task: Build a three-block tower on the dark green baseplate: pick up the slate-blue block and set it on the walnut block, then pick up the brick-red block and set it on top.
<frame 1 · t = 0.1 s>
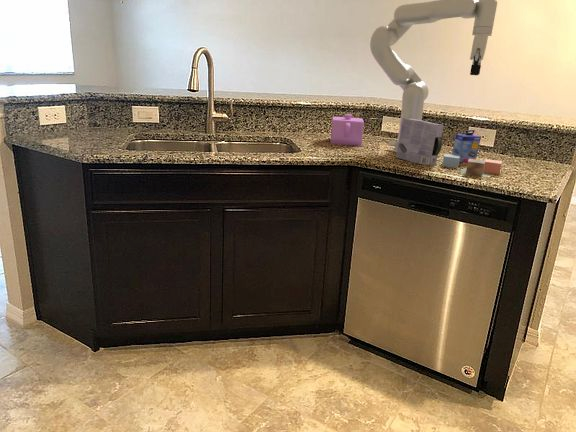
hand: (474, 74, 200), 37 cm above the worktop, tool pointing down, fingers open, 9 cm apart
ink cartridge box: (463, 163, 206), on the worktop
cake pan box: (416, 162, 202), on the worktop
block blue: (450, 167, 196), on the worktop
teapot: (345, 142, 239), on the worktop
block walnut: (474, 173, 184), point 1 cm above the worktop, touching baseplate
baseplate: (474, 175, 185), on the worktop
block red: (491, 173, 190), on the worktop
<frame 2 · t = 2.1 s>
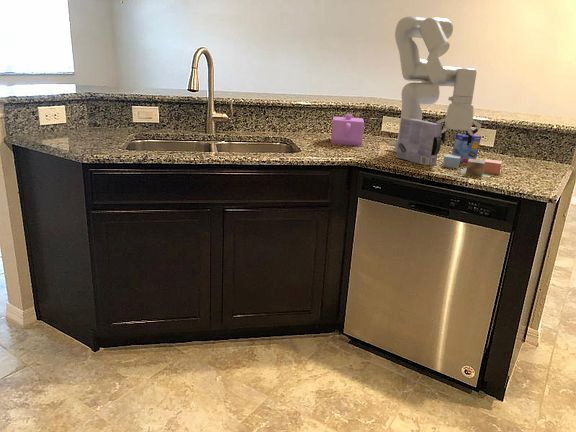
hand: (455, 143, 192), 10 cm above the worktop, tool pointing down, fingers open, 9 cm apart
cake pan box: (416, 162, 202), on the worktop, touching gripper
everything else where it was.
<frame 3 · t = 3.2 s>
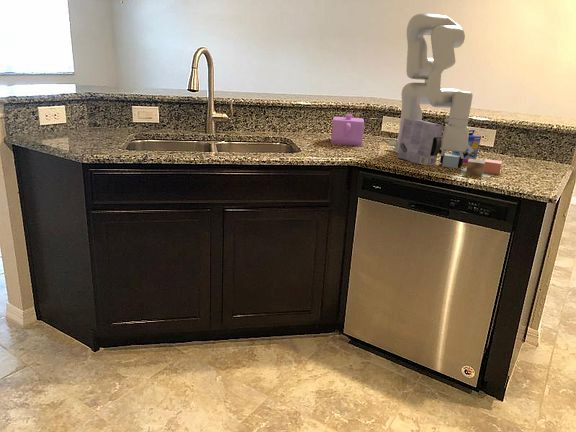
hand: (450, 165, 195), 1 cm above the worktop, tool pointing down, fingers closed on block blue, 6 cm apart
cake pan box: (416, 162, 202), on the worktop
block blue: (450, 167, 195), on the worktop, touching gripper
everything else where it was.
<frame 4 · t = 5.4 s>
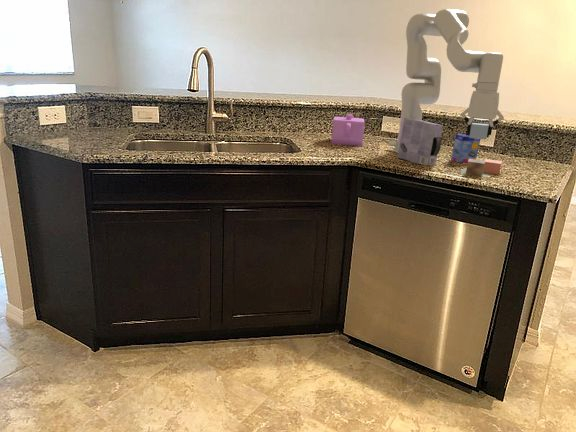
hand: (478, 135, 180), 15 cm above the worktop, tool pointing down, fingers closed on block blue, 6 cm apart
block blue: (478, 137, 180), point 15 cm above the worktop, touching gripper
everything else where it was.
when the fingers open (8 cm above the worktop, at t = 7.3 s): block blue drops 1 cm, resting on block walnut.
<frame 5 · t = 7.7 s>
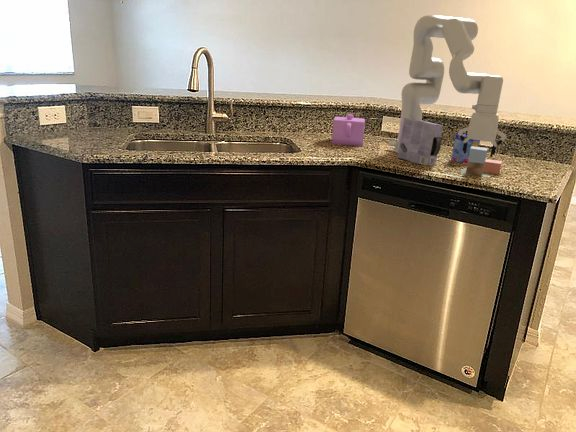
hand: (477, 154, 181), 8 cm above the worktop, tool pointing down, fingers open, 9 cm apart
block blue: (476, 161, 182), point 6 cm above the worktop, touching block walnut
block walnut: (474, 173, 184), point 1 cm above the worktop, touching baseplate, block blue
everything else where it was.
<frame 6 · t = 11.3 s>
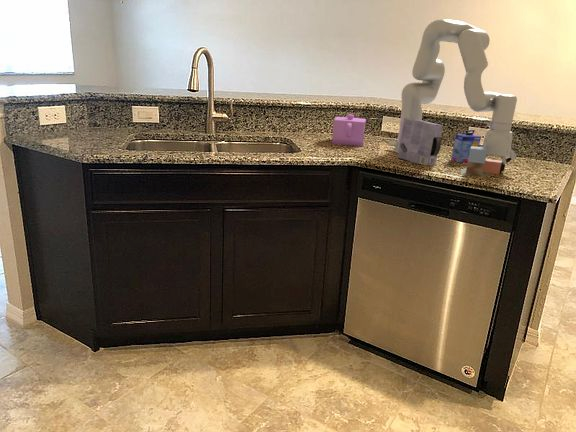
hand: (491, 171, 190), 1 cm above the worktop, tool pointing down, fingers closed on block red, 6 cm apart
block red: (491, 173, 190), on the worktop, touching gripper
when the fingers open (13 cm above the worktop, at t = 15.5 s): block red stays where it is, resting on block blue.
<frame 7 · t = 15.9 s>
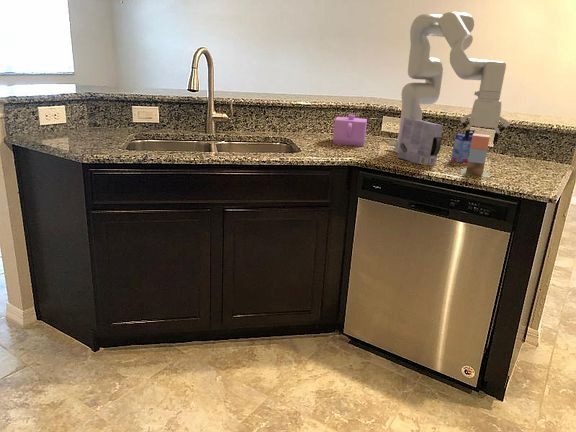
hand: (480, 141, 180), 13 cm above the worktop, tool pointing down, fingers open, 9 cm apart
block blue: (476, 161, 182), point 6 cm above the worktop, touching block red, block walnut
block red: (478, 148, 181), point 11 cm above the worktop, touching block blue
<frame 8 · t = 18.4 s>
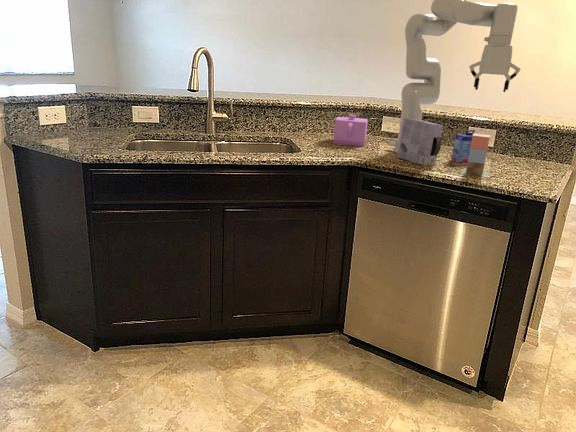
hand: (490, 90, 173), 32 cm above the worktop, tool pointing down, fingers open, 9 cm apart
at the end: block blue 0.2 cm off-centre on the block walnut, point 5.0 cm above the block walnut's base; block red 0.0 cm off-centre on the block walnut, point 10.0 cm above the block walnut's base; block red tilted 0° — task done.
